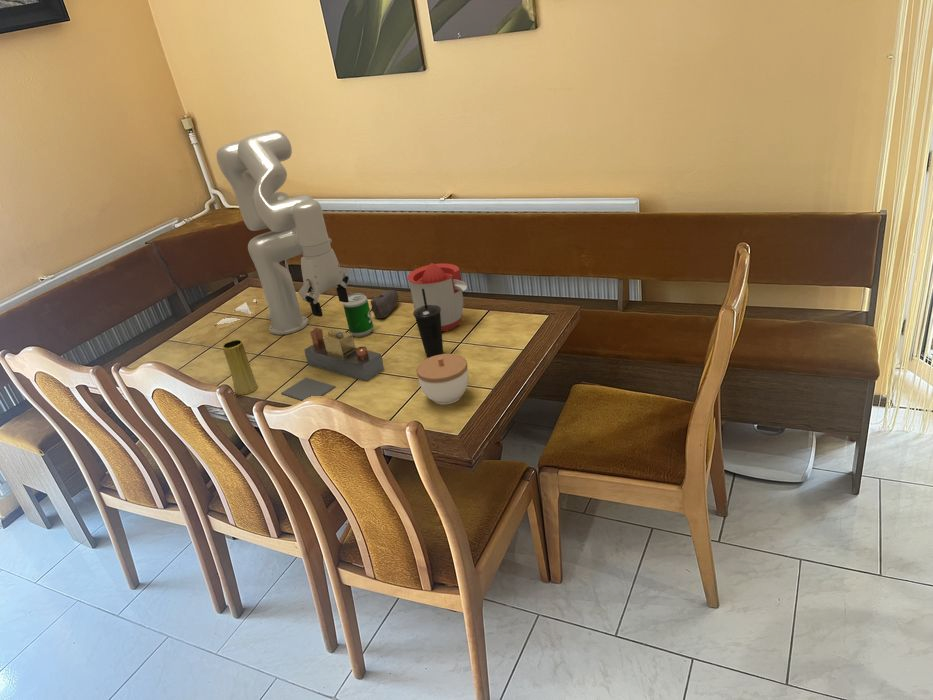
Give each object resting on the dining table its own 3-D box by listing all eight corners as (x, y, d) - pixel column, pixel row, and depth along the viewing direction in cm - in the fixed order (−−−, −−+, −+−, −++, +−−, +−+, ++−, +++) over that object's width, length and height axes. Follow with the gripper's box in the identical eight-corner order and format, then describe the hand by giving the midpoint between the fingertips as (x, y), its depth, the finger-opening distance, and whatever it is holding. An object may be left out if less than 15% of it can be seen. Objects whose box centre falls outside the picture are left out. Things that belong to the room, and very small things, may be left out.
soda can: (369, 337, 220) (361, 301, 214) (346, 338, 222) (338, 302, 216) (377, 326, 226) (369, 291, 221) (355, 327, 228) (346, 292, 223)
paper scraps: (224, 335, 239) (222, 329, 238) (197, 331, 246) (195, 325, 245) (279, 303, 259) (277, 298, 258) (252, 300, 266) (250, 294, 265)
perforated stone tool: (392, 302, 243) (388, 283, 240) (405, 303, 241) (402, 283, 237) (369, 321, 231) (364, 301, 228) (383, 322, 229) (378, 302, 226)
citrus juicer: (462, 337, 211) (452, 273, 202) (408, 335, 217) (396, 273, 208) (479, 314, 224) (470, 253, 215) (428, 313, 230) (418, 254, 221)
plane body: (308, 365, 209) (299, 334, 204) (325, 354, 213) (317, 324, 209) (366, 381, 195) (359, 348, 190) (384, 369, 199) (377, 337, 195)
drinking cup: (452, 348, 205) (441, 283, 196) (442, 361, 198) (430, 294, 190) (427, 348, 207) (415, 283, 199) (417, 360, 201) (404, 294, 192)
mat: (281, 394, 195) (281, 392, 195) (306, 378, 201) (305, 377, 201) (310, 403, 188) (310, 402, 188) (335, 387, 194) (335, 386, 194)
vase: (238, 386, 203) (223, 340, 197) (259, 382, 203) (245, 337, 197) (233, 396, 198) (218, 350, 191) (255, 393, 198) (241, 346, 191)
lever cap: (327, 353, 202) (322, 334, 200) (339, 345, 205) (334, 327, 203) (343, 357, 198) (339, 338, 196) (356, 350, 201) (351, 331, 199)
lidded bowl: (414, 408, 178) (406, 369, 173) (434, 383, 188) (427, 345, 183) (461, 412, 173) (454, 372, 168) (479, 386, 184) (473, 347, 179)
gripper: (330, 236, 196) (344, 295, 204) (281, 258, 185) (298, 319, 192) (349, 238, 192) (363, 298, 199) (300, 261, 180) (317, 323, 187)
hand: (331, 308), depth 196 cm, fingers open, 9 cm apart
